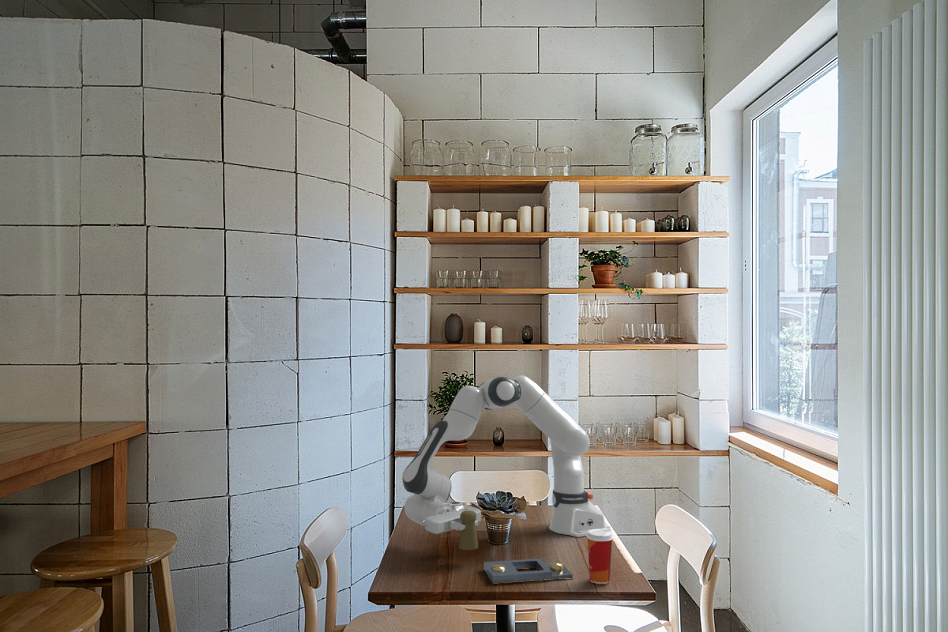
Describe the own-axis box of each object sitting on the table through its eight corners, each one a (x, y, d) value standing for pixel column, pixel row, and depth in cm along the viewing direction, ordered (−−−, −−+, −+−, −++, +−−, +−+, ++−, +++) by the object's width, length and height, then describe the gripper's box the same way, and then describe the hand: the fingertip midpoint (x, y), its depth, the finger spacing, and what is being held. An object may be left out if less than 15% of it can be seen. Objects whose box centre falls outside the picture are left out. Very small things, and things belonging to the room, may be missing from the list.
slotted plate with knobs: (559, 564, 193) (559, 555, 194) (572, 578, 182) (572, 569, 182) (484, 570, 188) (484, 560, 189) (493, 584, 177) (493, 574, 177)
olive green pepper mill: (472, 551, 190) (472, 515, 190) (455, 548, 193) (455, 512, 193) (481, 545, 195) (481, 510, 196) (465, 542, 198) (465, 507, 199)
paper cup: (596, 574, 186) (596, 526, 187) (618, 581, 180) (618, 532, 181) (580, 581, 180) (580, 532, 181) (603, 588, 175) (603, 538, 176)
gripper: (416, 512, 196) (445, 522, 187) (463, 500, 211) (492, 508, 201) (416, 533, 196) (445, 543, 186) (463, 519, 211) (493, 528, 201)
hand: (470, 525), depth 194 cm, fingers closed on olive green pepper mill, 4 cm apart
